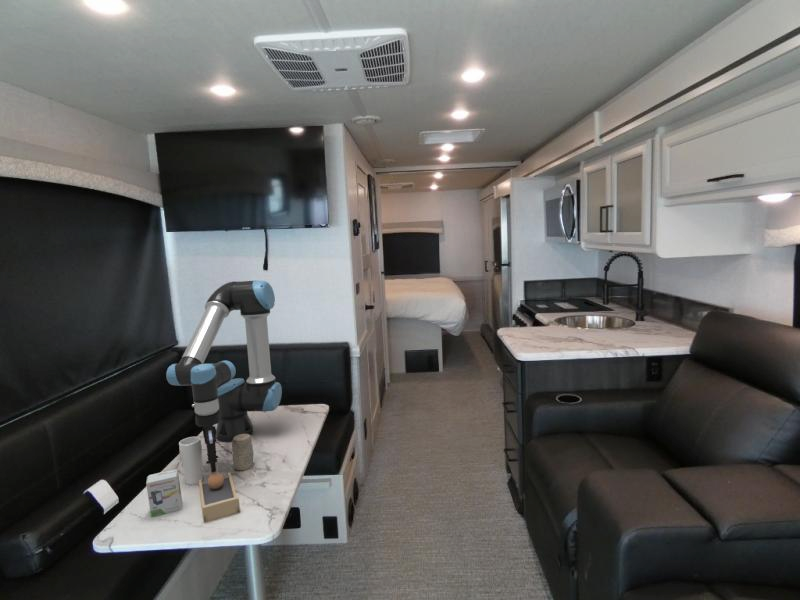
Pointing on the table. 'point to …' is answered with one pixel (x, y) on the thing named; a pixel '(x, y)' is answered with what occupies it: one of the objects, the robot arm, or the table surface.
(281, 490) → the table surface
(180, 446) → the drinking glass
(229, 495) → the lane
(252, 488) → the table surface
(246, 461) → the carving
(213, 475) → the ball
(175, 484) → the ink box
